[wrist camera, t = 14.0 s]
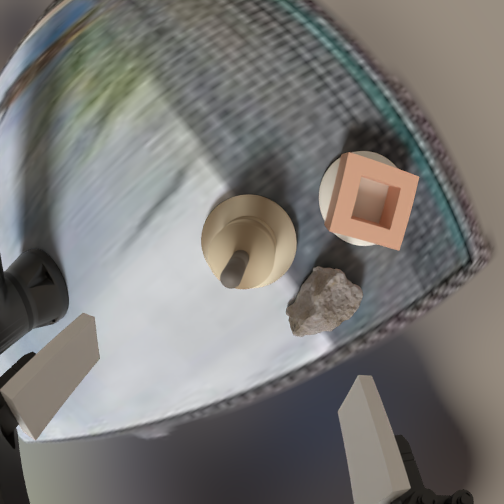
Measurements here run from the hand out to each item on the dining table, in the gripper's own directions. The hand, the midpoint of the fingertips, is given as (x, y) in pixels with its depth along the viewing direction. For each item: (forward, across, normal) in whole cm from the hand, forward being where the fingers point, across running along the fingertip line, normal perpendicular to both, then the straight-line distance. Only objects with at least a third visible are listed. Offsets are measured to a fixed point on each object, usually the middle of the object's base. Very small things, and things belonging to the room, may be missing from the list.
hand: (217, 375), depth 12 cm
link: (+24, +13, +9) cm, 28 cm away
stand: (+25, -1, 0) cm, 25 cm away
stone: (+25, +10, -5) cm, 28 cm away
